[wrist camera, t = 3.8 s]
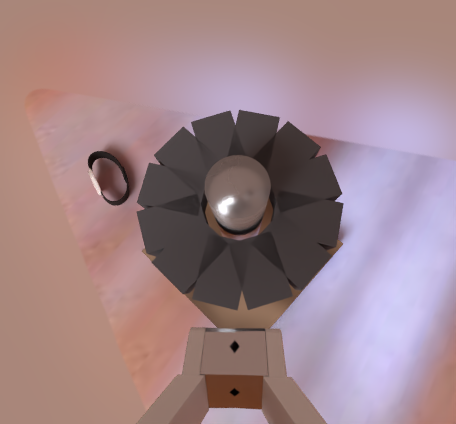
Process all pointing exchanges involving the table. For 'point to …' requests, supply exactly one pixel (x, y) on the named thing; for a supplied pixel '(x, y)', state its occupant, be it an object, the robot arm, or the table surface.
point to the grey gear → (251, 247)
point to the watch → (90, 162)
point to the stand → (243, 316)
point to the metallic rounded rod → (238, 195)
